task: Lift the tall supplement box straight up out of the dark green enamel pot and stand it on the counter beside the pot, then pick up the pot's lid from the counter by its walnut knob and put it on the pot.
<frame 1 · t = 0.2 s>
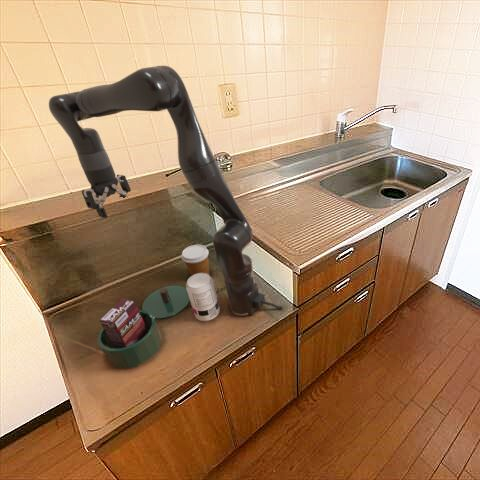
hand: (115, 211, 105), 29 cm above the countertop, tool pointing down, fingers open, 8 cm apart
lid: (167, 301, 111), point 1 cm above the countertop
pot: (136, 347, 96), on the countertop
supplement can: (208, 313, 108), on the countertop
disposable coffee cup: (201, 276, 123), on the countertop
supplement box: (136, 346, 96), resting on pot
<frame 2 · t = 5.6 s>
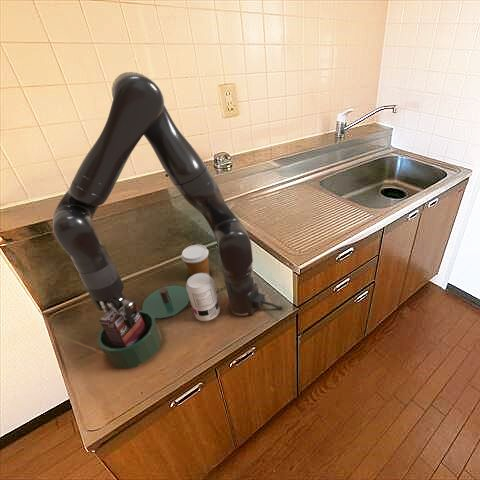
hand: (124, 323, 90), 11 cm above the countertop, tool pointing down, fingers closed on supplement box, 5 cm apart
supplement box: (136, 346, 96), resting on pot, touching gripper
everything else where it was.
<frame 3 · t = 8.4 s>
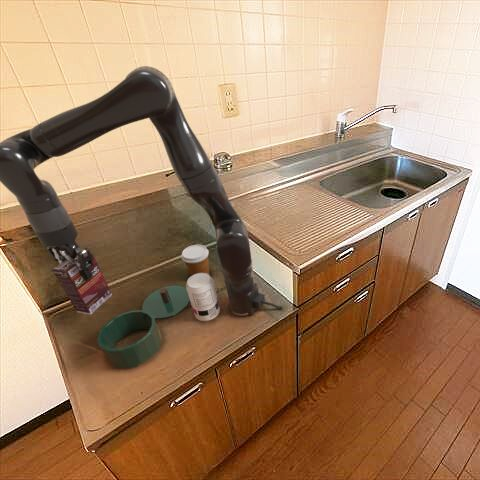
hand: (81, 275, 86), 24 cm above the countertop, tool pointing down, fingers closed on supplement box, 5 cm apart
supplement box: (96, 303, 93), point 13 cm above the countertop, touching gripper
everything else where it was.
when the fingers open (11 cm above the countertop, at t = 11.6 s): supplement box stays where it is, on the countertop.
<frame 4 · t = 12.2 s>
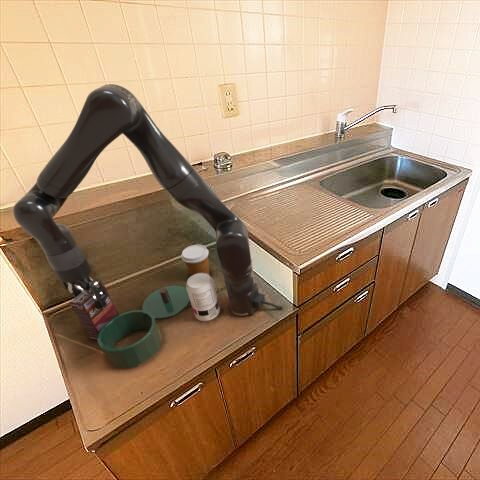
hand: (92, 303, 95), 12 cm above the countertop, tool pointing down, fingers open, 8 cm apart
supplement box: (107, 329, 101), on the countertop
everything else where it was.
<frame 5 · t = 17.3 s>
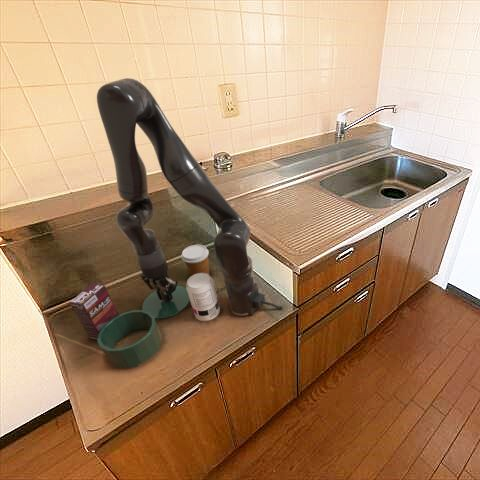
hand: (166, 299, 110), 2 cm above the countertop, tool pointing down, fingers closed on lid, 2 cm apart
lid: (167, 301, 111), point 1 cm above the countertop, touching gripper
everything else where it was.
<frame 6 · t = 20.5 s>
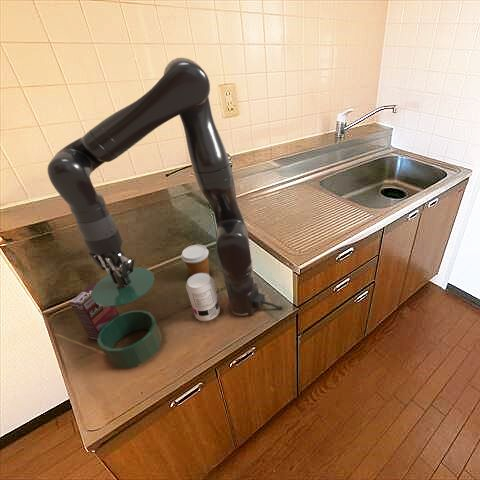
hand: (122, 282, 88), 21 cm above the countertop, tool pointing down, fingers closed on lid, 2 cm apart
lid: (124, 286, 89), point 20 cm above the countertop, touching gripper
everything else where it was.
when the fingers open (10 cm above the countertop, at t = 23.9 s): lid stays where it is, resting on pot.
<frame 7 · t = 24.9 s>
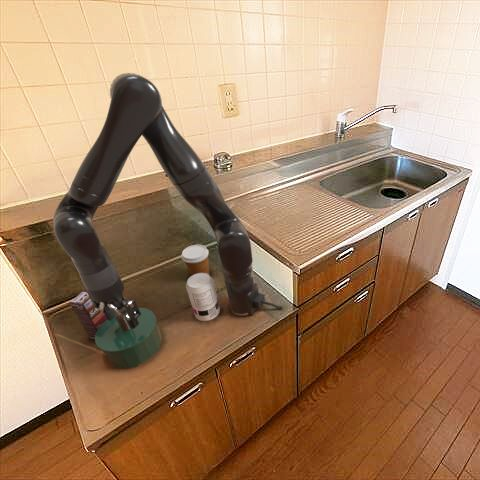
hand: (123, 322, 90), 11 cm above the countertop, tool pointing down, fingers open, 8 cm apart
lid: (126, 329, 91), point 8 cm above the countertop, touching pot
everything else where it was.
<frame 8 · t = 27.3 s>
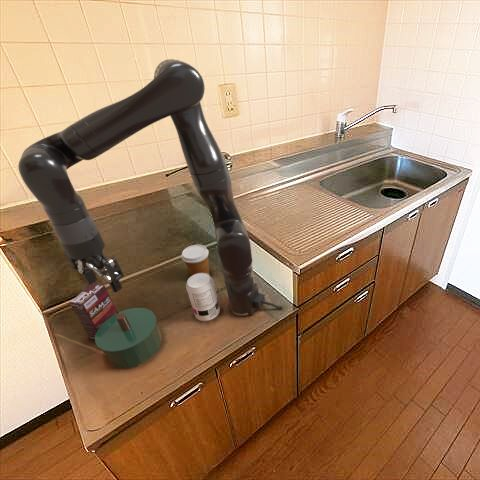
hand: (105, 286, 82), 25 cm above the countertop, tool pointing down, fingers open, 8 cm apart
nothing on the countertop moved.
at the end: supplement box inside the target area (0.1 cm from its centre), on the countertop; lid 0.1 cm off-centre on the pot, point 8.3 cm above the pot's base; lid tilted 0° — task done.
